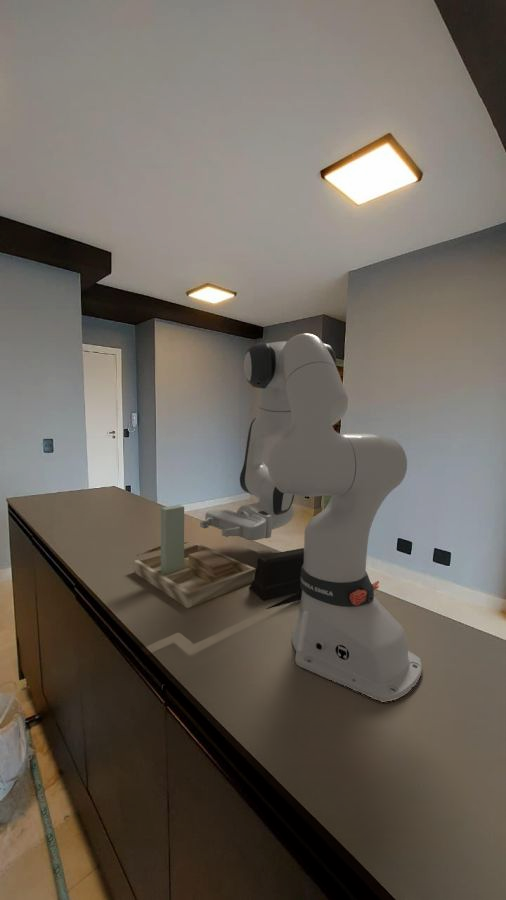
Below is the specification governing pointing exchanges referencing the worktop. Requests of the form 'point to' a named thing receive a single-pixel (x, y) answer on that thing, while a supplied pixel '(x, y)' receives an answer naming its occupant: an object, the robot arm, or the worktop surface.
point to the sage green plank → (172, 539)
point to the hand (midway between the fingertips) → (212, 529)
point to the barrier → (279, 576)
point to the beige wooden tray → (192, 578)
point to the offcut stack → (209, 566)
